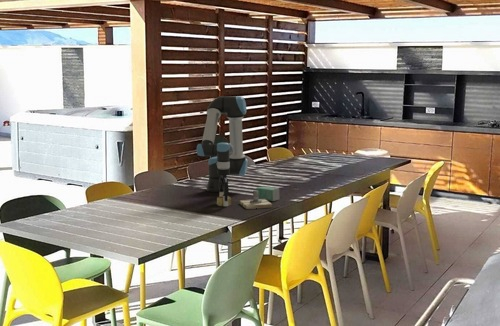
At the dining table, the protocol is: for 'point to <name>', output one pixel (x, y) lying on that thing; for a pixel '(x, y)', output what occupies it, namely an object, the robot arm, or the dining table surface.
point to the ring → (220, 201)
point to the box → (268, 193)
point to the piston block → (255, 202)
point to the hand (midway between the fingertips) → (223, 204)
